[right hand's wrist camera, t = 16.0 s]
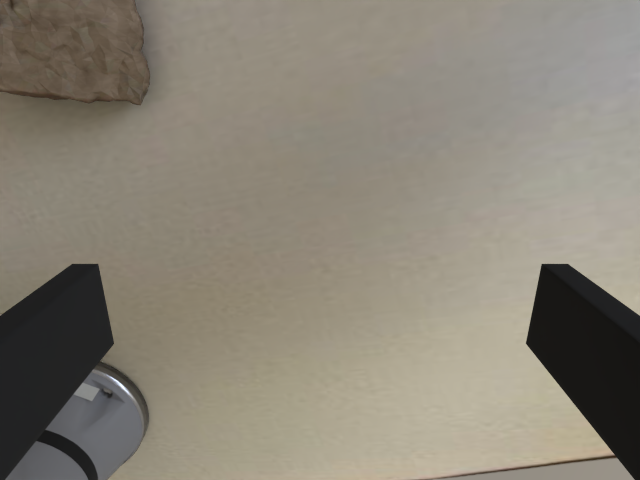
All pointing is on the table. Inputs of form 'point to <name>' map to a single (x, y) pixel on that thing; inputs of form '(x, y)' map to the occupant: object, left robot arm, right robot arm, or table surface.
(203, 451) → the table surface
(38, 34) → the stone
